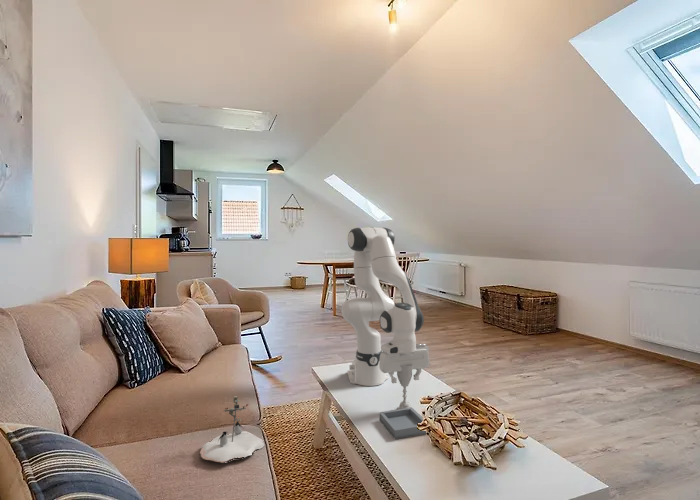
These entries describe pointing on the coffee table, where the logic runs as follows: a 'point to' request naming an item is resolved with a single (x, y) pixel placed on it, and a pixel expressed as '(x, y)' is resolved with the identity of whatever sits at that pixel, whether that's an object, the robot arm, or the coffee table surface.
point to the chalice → (404, 383)
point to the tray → (401, 422)
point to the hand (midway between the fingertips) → (405, 381)
